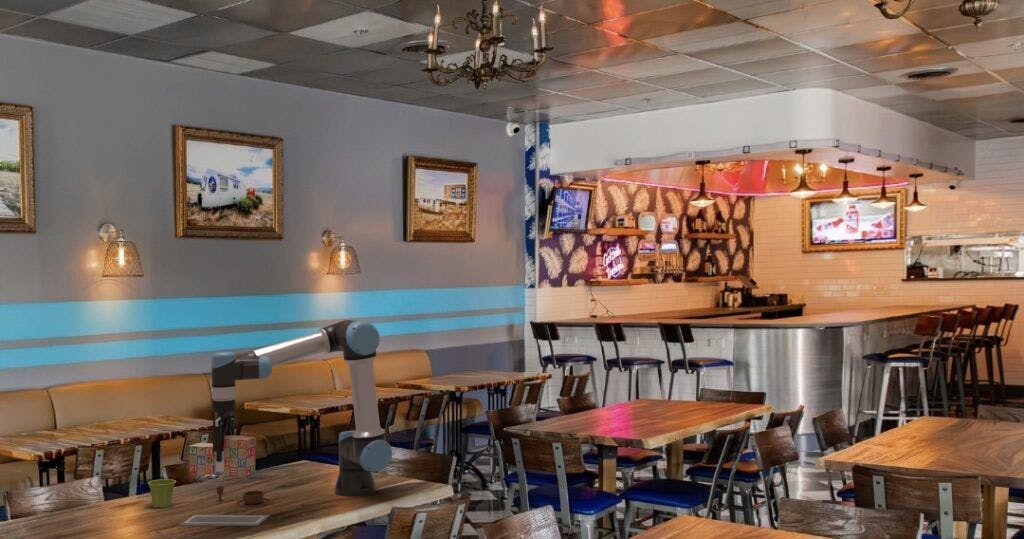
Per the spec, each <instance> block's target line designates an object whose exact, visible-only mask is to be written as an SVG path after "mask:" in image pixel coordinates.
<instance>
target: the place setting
mask: <svg viewBox="0 0 1024 539" xmlns="http://www.w3.org/2000/svg"><path fill="white" fill-rule="evenodd" d="M224 491H225V490H224V486H223V485H218V486H216V494H217V495H218V496H219V497H218V501H219V502H221V501H222V500H223V498H222V495H223V494H224ZM266 500H267V502H266V503H262V502H264V501H266ZM243 501H244V503H245V504H246V505H244V504H240V503H239V502H241V503H243ZM271 502H272V501H271V499H270V498H269V499H268V498H267V497H264V491H262V490H248V491H245V492H243V494H242V499H239V500H237V501H236V502H235V505H236V506H237V507H239V506H240V507H239V508H258V507H259V508H260V507H264V506H267V505H270V504H271ZM269 503H270V504H269ZM255 504H256V505H255Z"/></svg>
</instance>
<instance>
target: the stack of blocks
mask: <svg viewBox="0 0 1024 539" xmlns="http://www.w3.org/2000/svg"><path fill="white" fill-rule="evenodd" d="M256 440H257V438H256V436H248V435H235V436H233V435H231V436H230V435H225V438H224V448H223V451H225V471H224V472H216V452H213V442H212V443H209V442H207V443H206V442H197V443H194V444H191V445H188V473H189V474H195V475H196V474H197V475H209V476H211V475H212V476H226V477H241V478H248V477H249V476H252V475H254V474H256V453H257V450H256V448H257V447H256V444H257V443H256V442H257V441H256Z"/></svg>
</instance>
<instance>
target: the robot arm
mask: <svg viewBox="0 0 1024 539" xmlns="http://www.w3.org/2000/svg"><path fill="white" fill-rule="evenodd" d="M380 340H381V339H380V333H379V331H378V329H377V328H376V326H374V325H373V324H372V323H370V322H368V321H364V320H353V319H345V320H340V321H338V322H335V323H333V324H329V325H327V326H322V327H320V328H318V329H317V331H316V332H313V333H309V334H306V335H302V336H298V337H295V338H292V339H288V340H284V341H282V342H277V343H274V344H272V345H268V346H265V347H262V348H258V349H254V350H252V351H250V350H249V351H247V352H243V353H240V352H239V353H235V352H231V351H229V352H227V351H226V352H223V351H222V352H220V351H219V352H215V353H213V354H212V356H211V367H210V368H211V389H210V393H211V395H212V396H211V399H212V401H211V411H212V412H213V413H216V417H215V419H213V421H212V426H213V428H212V430H213V432H212V434H213V435H212V444H213V452H216V472H224V471H225V451H223V448H224V438H225V435H230V436H231V435H233V436H236V433H235V414H232V412H235V411H236V409H237V408H236V405H237V404H236V403H237V402H236V400H235V398H236V397H237V396H236V395H237V394H236V391H237V390H236V381H246V380H250V381H251V380H262V379H268V378H270V377H271V375H272V369H273V367H276V366H280V365H281V366H282V365H284V364H287V363H290V362H294V361H298V360H300V359H304V358H307V357H310V356H314V355H317V354H320V353H324V354H326V355H328V354H329V353H335V352H342V354H343V355H342V356H343V361H344V362H346V363H347V364H348V369H349V370H348V371H349V378H350V386H351V388H350V389H351V396H352V404H353V413H354V421H355V422H354V424H355V429H354V430H348V431H347V430H346V431H341V432H339V435H338V466H339V467H338V469H339V471H338V475H337V479H336V482H335V486H334V494H335V495H337V496H339V497H340V496H341V497H362V496H367V495H368V496H369V495H372V494H374V493H376V492H377V486H376V483H375V479H374V477H373V476H374V475H373V473H376V472H380V471H383V470H384V469H385V468H387V466H388V465H389V464H390V462H391V460H392V458H393V449H392V446H391V445H390V443H389V442H388V441H387V439H386V431H385V429H383V428H382V427H381V424H380V415H379V414H380V413H379V406H378V405H379V404H378V397H377V396H378V395H377V388H376V379H375V370H374V368H375V367H374V360H376V358H377V348H378V347H379V345H380V343H381V342H380Z"/></svg>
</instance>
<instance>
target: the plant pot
mask: <svg viewBox="0 0 1024 539" xmlns="http://www.w3.org/2000/svg"><path fill="white" fill-rule="evenodd" d="M176 483H177V480H175V479H173V478H172V479H171V478H170V479H169V478H168V479H167V478H165V479H164V478H161V479H160V478H159V479H155V480H150V481H148V482H147V484H148V487H149V489H150V496H151V502H152V507H153V508H154V509H155V508H156V509H157V508H161V509H162V508H168V507H170V506H172V502H173V501H172V499H173V496H174V494H173V492H174V488H175V484H176Z"/></svg>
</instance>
